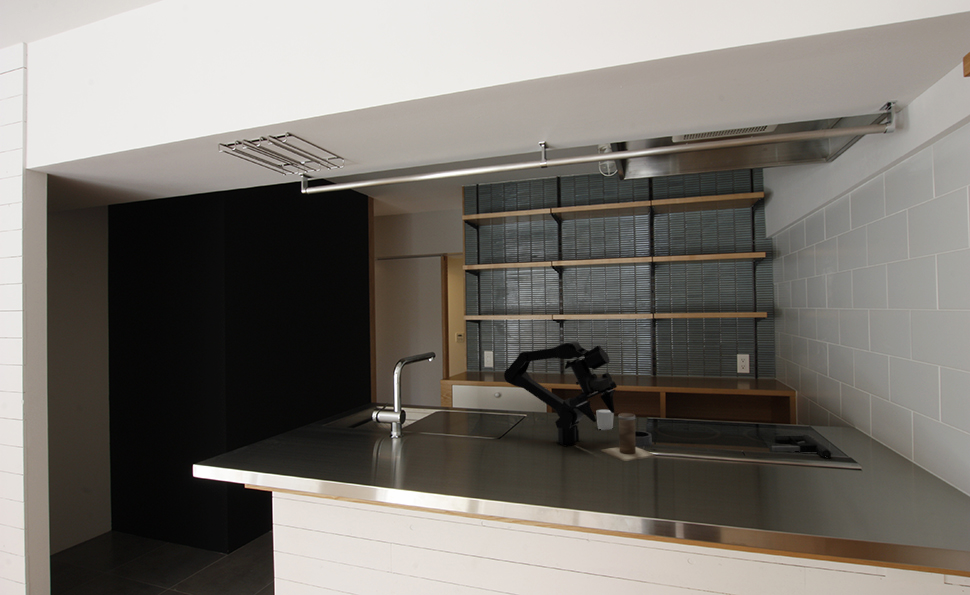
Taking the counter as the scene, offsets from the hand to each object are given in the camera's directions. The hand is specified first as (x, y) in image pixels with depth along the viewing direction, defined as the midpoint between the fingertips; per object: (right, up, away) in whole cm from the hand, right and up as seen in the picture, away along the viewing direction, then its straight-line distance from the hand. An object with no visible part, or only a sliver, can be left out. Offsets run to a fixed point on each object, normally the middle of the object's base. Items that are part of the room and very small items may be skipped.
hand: (604, 417), depth 178 cm
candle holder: (+12, -10, +3) cm, 16 cm away
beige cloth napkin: (+5, -10, -10) cm, 15 cm away
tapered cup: (+5, -9, -10) cm, 14 cm away
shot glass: (+7, -11, +27) cm, 30 cm away
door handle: (+62, -10, -5) cm, 63 cm away
